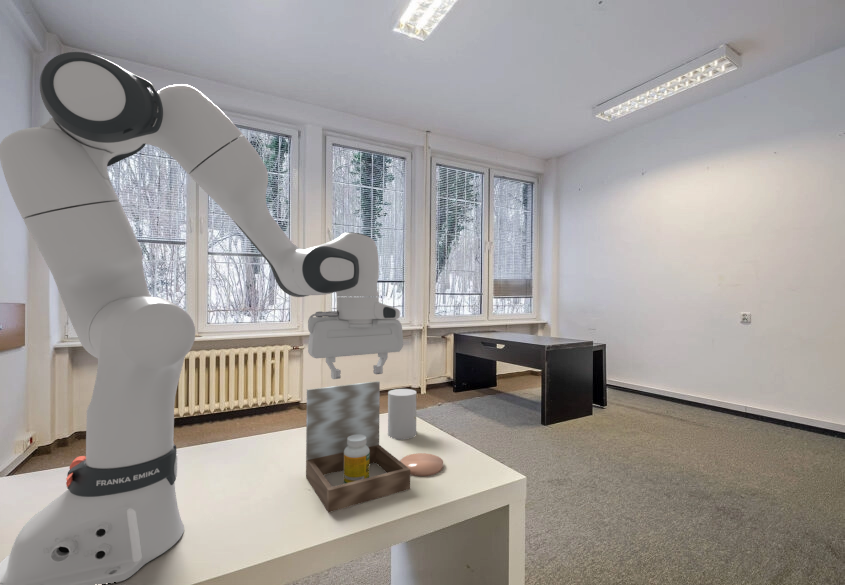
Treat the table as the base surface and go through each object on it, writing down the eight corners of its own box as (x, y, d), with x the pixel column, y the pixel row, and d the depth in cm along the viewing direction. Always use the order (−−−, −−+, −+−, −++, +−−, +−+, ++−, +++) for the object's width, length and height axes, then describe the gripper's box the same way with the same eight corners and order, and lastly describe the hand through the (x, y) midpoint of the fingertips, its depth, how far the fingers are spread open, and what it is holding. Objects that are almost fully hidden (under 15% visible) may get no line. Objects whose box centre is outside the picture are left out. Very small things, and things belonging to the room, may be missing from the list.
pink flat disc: (413, 480, 82) (413, 475, 82) (392, 462, 91) (392, 458, 91) (451, 469, 87) (451, 465, 87) (428, 454, 96) (428, 450, 96)
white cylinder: (421, 435, 109) (421, 393, 109) (397, 441, 104) (397, 397, 105) (406, 427, 116) (406, 387, 116) (382, 432, 111) (383, 391, 111)
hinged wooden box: (328, 512, 70) (329, 407, 70) (305, 477, 83) (306, 389, 84) (410, 489, 78) (410, 395, 79) (377, 460, 92) (378, 381, 92)
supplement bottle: (343, 478, 83) (343, 433, 83) (368, 476, 84) (368, 432, 84) (343, 490, 78) (344, 443, 78) (370, 488, 79) (370, 441, 79)
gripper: (312, 312, 73) (312, 384, 73) (406, 310, 84) (406, 373, 84) (304, 311, 79) (303, 378, 79) (393, 309, 89) (393, 369, 89)
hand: (357, 376), depth 81 cm, fingers open, 8 cm apart
